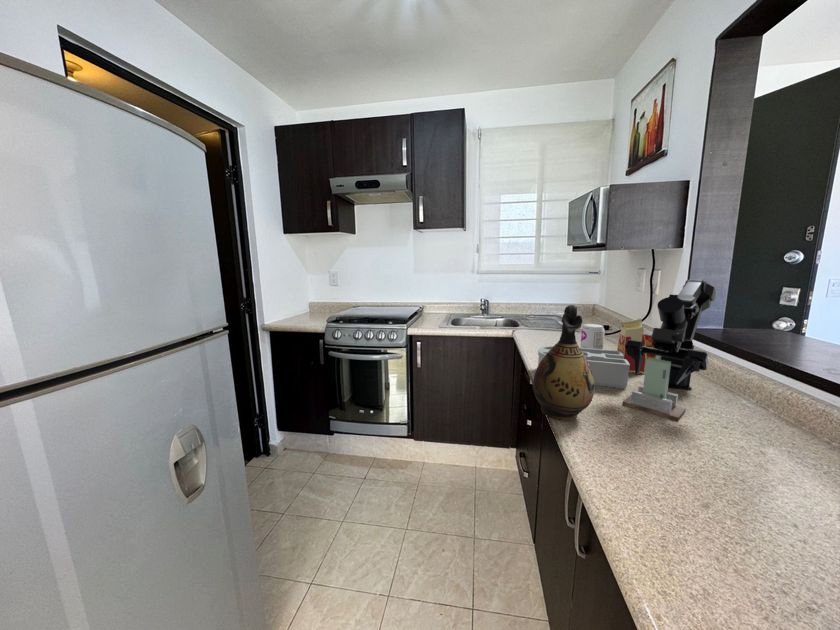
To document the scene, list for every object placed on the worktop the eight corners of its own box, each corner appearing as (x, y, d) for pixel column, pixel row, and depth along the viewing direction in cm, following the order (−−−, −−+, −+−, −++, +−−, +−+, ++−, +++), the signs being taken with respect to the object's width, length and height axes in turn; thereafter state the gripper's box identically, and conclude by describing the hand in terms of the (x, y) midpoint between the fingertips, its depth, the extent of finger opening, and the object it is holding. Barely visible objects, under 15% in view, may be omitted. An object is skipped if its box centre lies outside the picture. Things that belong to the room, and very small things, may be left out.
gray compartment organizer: (627, 390, 104) (630, 364, 103) (536, 379, 115) (537, 356, 113) (618, 373, 119) (620, 351, 118) (538, 365, 130) (539, 344, 129)
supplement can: (580, 362, 131) (583, 326, 129) (578, 356, 139) (581, 322, 136) (603, 364, 128) (606, 328, 126) (600, 358, 136) (603, 324, 133)
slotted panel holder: (622, 404, 94) (623, 390, 93) (631, 396, 99) (633, 383, 98) (677, 421, 84) (680, 405, 83) (685, 411, 89) (687, 396, 88)
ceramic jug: (596, 431, 80) (607, 312, 75) (530, 421, 85) (536, 309, 80) (587, 402, 96) (595, 302, 90) (532, 395, 101) (537, 300, 96)
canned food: (647, 358, 135) (650, 330, 133) (668, 364, 128) (672, 334, 126) (635, 361, 132) (638, 332, 130) (656, 367, 125) (660, 337, 123)
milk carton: (638, 366, 126) (644, 316, 123) (646, 374, 118) (652, 320, 114) (612, 364, 129) (617, 315, 126) (618, 371, 120) (623, 319, 117)
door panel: (644, 400, 94) (649, 357, 92) (665, 406, 90) (671, 361, 88) (641, 403, 92) (646, 360, 90) (662, 409, 88) (668, 364, 86)
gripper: (629, 313, 97) (612, 355, 92) (712, 321, 83) (697, 372, 77) (636, 334, 103) (620, 375, 98) (713, 345, 89) (699, 394, 84)
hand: (655, 378), depth 89 cm, fingers open, 9 cm apart
